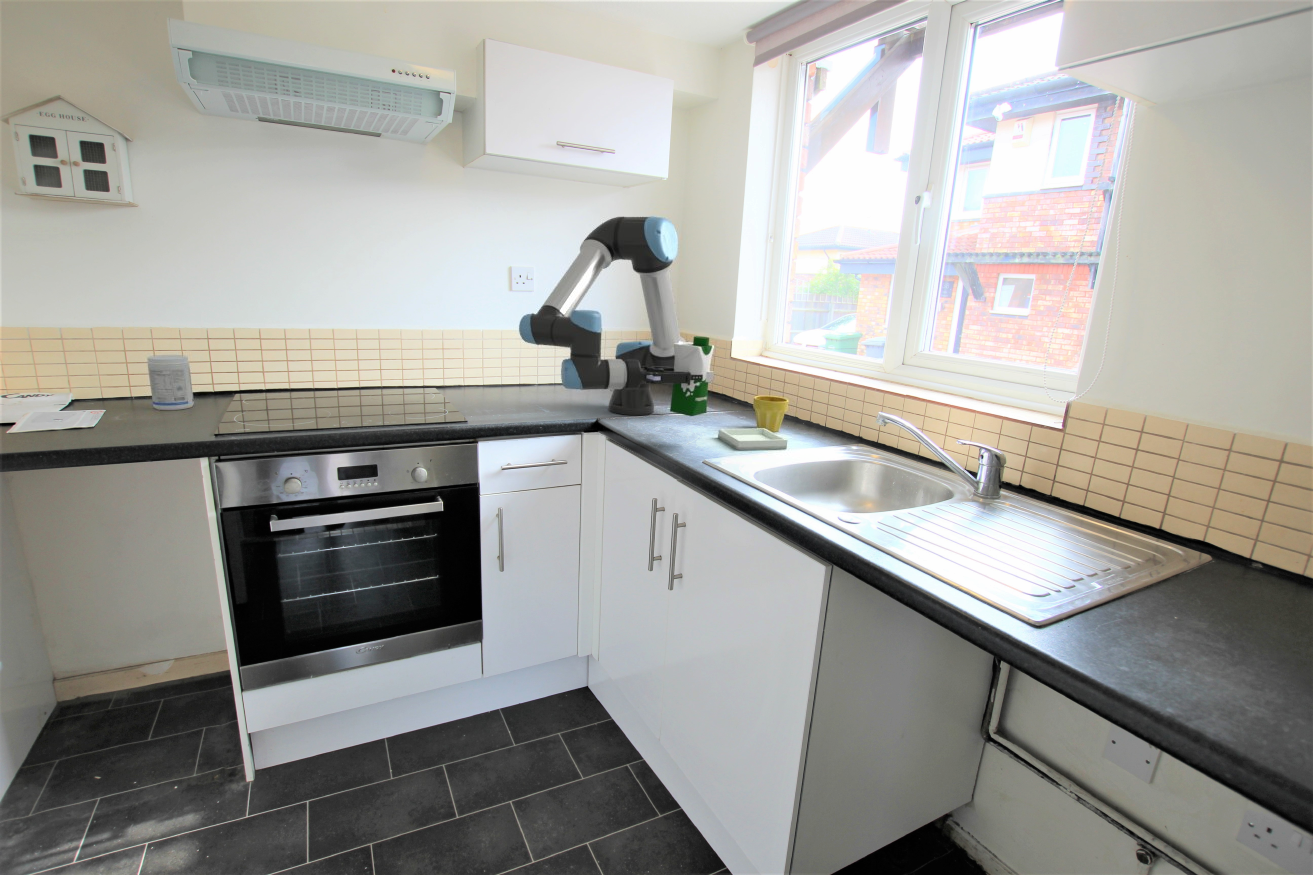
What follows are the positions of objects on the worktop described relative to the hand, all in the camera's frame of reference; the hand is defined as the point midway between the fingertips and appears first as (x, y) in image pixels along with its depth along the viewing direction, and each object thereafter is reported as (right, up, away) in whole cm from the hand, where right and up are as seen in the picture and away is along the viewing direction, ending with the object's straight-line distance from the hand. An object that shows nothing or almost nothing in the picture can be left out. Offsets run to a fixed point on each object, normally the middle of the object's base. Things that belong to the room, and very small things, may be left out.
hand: (707, 374), depth 172 cm
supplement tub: (-152, -8, +16) cm, 153 cm away
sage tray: (+13, -18, +9) cm, 24 cm away
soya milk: (-5, -10, +1) cm, 11 cm away
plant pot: (+21, -15, +27) cm, 37 cm away
